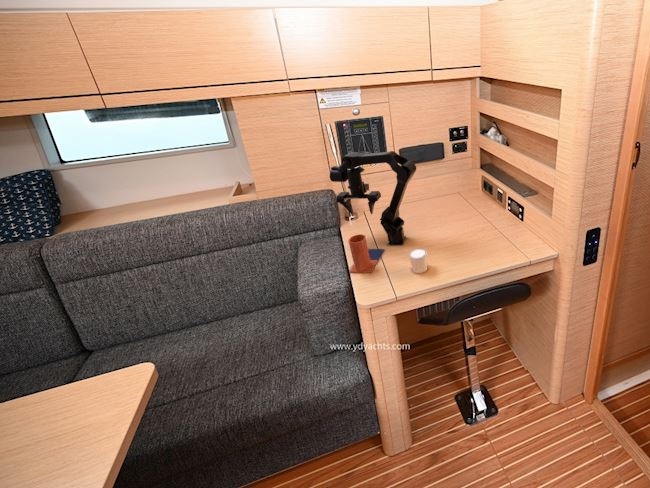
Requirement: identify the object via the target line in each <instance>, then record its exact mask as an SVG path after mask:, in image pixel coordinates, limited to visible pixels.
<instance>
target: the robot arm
mask: <svg viewBox="0 0 650 488" xmlns="http://www.w3.org/2000/svg"><path fill="white" fill-rule="evenodd" d="M340 162H341V163H340V165H339V166H338V165H332V166H331V167H330V172H329V179H330V181H331V182H332V183H346V182H348V186H347V189H348V190H349V191H350V192H349V191H340V192H339V193H338V195H336V197H335V200H336V203H337V204H339V205H342V206H343V207H344V208H345V209H346V210H347V211H348V213H349V214H350V215H351V216H352V215H354V209H353V205H352V200H360V199H361V200H362V199H363V200H364V199H367V205H368V209H369V213H370V215H373V213H374V209H375V204H376V203H377V202H378V201H379V200H380V198H382V193H381V192H380V190H371V191H370V183H365V181H364V180H363V179H362V173H363V172H364V171H365V168H364V167H362V166H364V165H365V166H366V165H377V164H387V165H388V166H389V167H390V169H391V170H392V171H393V172H394V173H395V174H396V177H395V178H396V185H395V188H394V191H393V194H392V197H391V200H390V203H389V205H388V206H387V207H386V208H385V209H384V210H383V211H382V212H381V217H380V219H379V221H380V225H381V227H382V228H383V230H384V232H385V234H386V235H387V240H388V245H389V246H402V245H404V242H405V240H406V239H407V237H406V235H405V231H404V227H403V226H404V225H405V220H404V219H403V218H402V217H401V216H400V206H401V204H402V202H403V199H404V195H405V193H406V190H407V187H408V184H409V183H410V181H411V180H412V178H413V177H414V175H415V173H416V172H417V165H416V163H414V162H413V161H411V160H409V159H408V158H407V157H405V156H403V155H400V154H399V153H397V152H396V151H393V150H390V151H384V152H383V151H381V152H372V153H362V152H360V151H359V152H357V151H351V152H349V153H347V154H345V155H344V156H342V157H341V161H340ZM367 191H370V192H369V193H368V192H367Z"/></svg>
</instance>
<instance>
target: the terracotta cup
mask: <svg viewBox="0 0 650 488" xmlns="http://www.w3.org/2000/svg"><path fill="white" fill-rule="evenodd" d="M348 245H349V249H350V253H351V258H352V262H353V265H354V266H355V269H356V270H357V271H366V270H368V269H369V268H370V267H371V260H370V255H369V250H368V249H369V247H368V241H367V238H366V235H365V234H354V235H351V236H350V237H349V238H348Z"/></svg>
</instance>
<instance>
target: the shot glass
mask: <svg viewBox="0 0 650 488" xmlns="http://www.w3.org/2000/svg"><path fill="white" fill-rule="evenodd" d="M408 257H409V261H410V265H411V268H412V271H413V272H414V273H416V274H422V273H425V272H426V271H428V252H427V250H426V249H424V248H416V249H413V250H411V251H410V252H409V253H408Z"/></svg>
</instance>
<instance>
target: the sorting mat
mask: <svg viewBox="0 0 650 488" xmlns="http://www.w3.org/2000/svg"><path fill="white" fill-rule="evenodd" d="M368 250H369V255H370V260H371V267H370V268H369V269H368V270H366V271H357V270H356V269H355V266H354V264H353V265H352V267H351V269H350V270H349V274H351V273H352V274H355V273H357V274H372V272H373V270H374V268H376V265H377V263H378V262H379V260H380V258H381V256H382V254H383V253H384V251H385V249H384V248H368Z"/></svg>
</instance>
